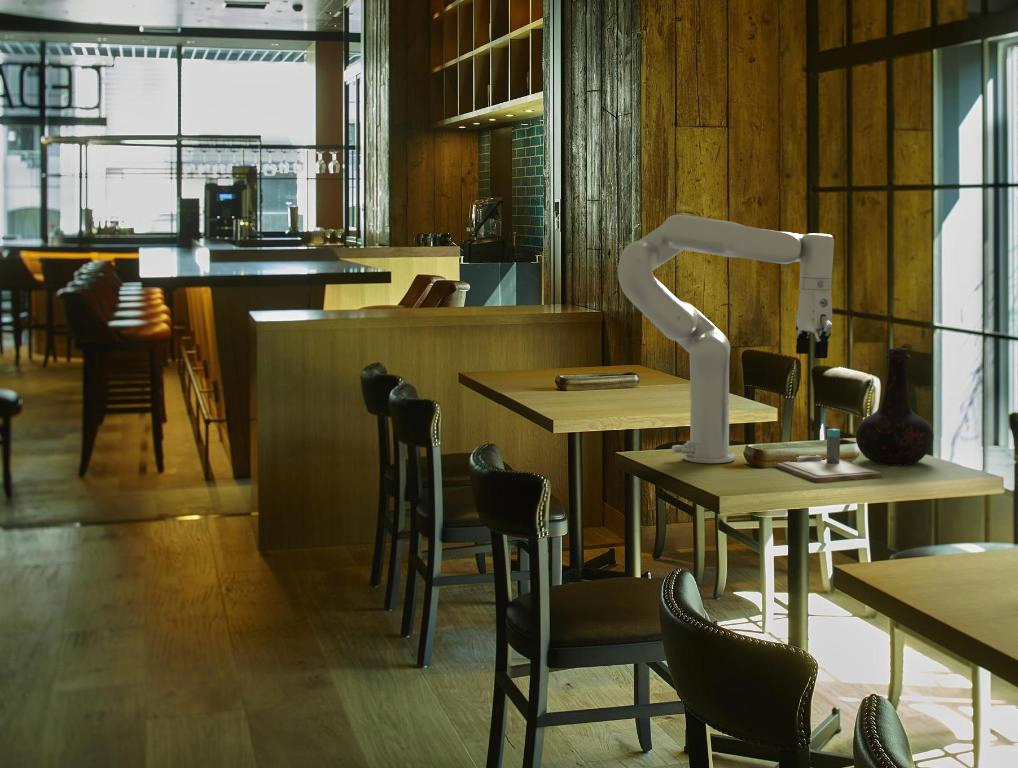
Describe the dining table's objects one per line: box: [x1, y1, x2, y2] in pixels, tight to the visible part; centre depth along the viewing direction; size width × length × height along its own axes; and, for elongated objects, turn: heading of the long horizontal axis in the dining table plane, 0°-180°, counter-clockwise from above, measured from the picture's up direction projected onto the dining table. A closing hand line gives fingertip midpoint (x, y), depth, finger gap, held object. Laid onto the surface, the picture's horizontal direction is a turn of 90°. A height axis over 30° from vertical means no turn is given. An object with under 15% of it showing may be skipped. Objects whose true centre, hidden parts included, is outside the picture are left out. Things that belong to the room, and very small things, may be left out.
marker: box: [826, 428, 841, 464], centre depth 300 cm, size 3×3×8 cm
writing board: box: [777, 454, 883, 483], centre depth 296 cm, size 17×20×2 cm
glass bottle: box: [855, 347, 934, 466], centre depth 305 cm, size 18×18×28 cm
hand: (811, 355), depth 306 cm, fingers open, 9 cm apart
